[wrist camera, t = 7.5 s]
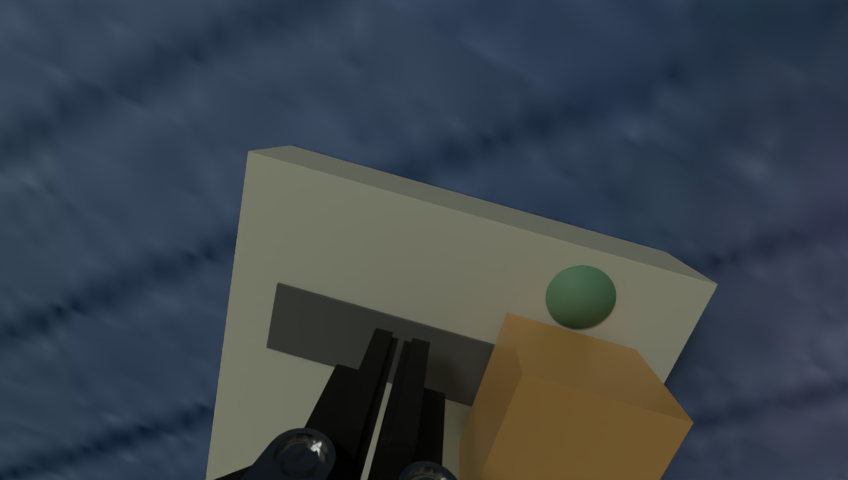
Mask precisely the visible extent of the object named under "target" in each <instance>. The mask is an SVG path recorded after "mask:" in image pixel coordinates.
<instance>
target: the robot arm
mask: <svg viewBox="0 0 848 480" xmlns="http://www.w3.org/2000/svg"><path fill="white" fill-rule="evenodd" d="M392 336H393V332H391V331H387V330H383V329H380V328H375V331H374V333H373V336H372V338H371V340H370V343H369V345H368V348H367V350H366V353H365V355H364V358H363V360H362V362H361V365H360V367H359V370H358V369H355V368H351V367H347V366H344V365H340V364H337V365H336V366H335V368H334V370H333V372H332V374H331V376H330V378H329V380H328V382H327V384H326V386H325V388H324V390H323V392H322V394H321V396H320V397H319V399H318V401H317V403H316V405H315V407H314V409H313V411H312V413H311V415H310V417H309V419H308V421H307V423H306V425H305V427H304V428H296V429H291V430H287V431H285V432H283V433H281V434H279V435H278V436H277V437H276V438H275V439H274V440H273V441H271V443H270V444H269V445H268V446H267V448H266V449H265V450H264V451H263V452H262V454H261V455H260V456H259V457H258V458H257V460H256V461H255V462H254V463H253V465H251V466H248V467H245V468H243V469H240V470H238V471H235V472H232V473H230V474H227V475H225V476H222V477H219V478H217V479H214V480H361V476H362V473H363V469H364V466H365V462H366V458H367V455H368V451H369V447H370V444H371V440H372V437H373V433H374V429H375V426H376V422H377V418H378V415H379V411H380V407H381V404H382V400H383V396H384V392H385V389H386V385H387V381H388V377H389V374H390V370H391V366H392V363H393V359H394V355H395V351H396V348H397V344H398V340H399V339H398V338H394V337H392ZM429 346H430V342H428V341H424V340H420V339H417V338H412V341H411V342H409V341H405V340H404V344H403V347H402V351H401V355H400V358H399V362H398V366H397V369H396V373H395V377H394V380H393V384H392V388H391V391H390V395H389V399H388V402H387V406H386V410H385V413H384V417H383V421H382V425H381V429H380V432H379V436H378V440H377V444H376V448H375V452H374V456H373V460H372V463H371V467H370V471H369V475H368V479H367V480H457V478H456V477H455V476H454V475H453V474H452V473H451V472H450V471H449V470H448V469H447V468H445V467H443V466H442V460H443V440H444V419H445V399H446V397H445V393H443V392H439V391H435V390H432V389H428V388H424V384H425V376H426V369H427V361H428V354H429Z"/></svg>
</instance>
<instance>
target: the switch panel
mask: <svg viewBox="0 0 848 480" xmlns="http://www.w3.org/2000/svg"><path fill="white" fill-rule="evenodd" d="M716 287H717V284H716V283H714V282H713V281H711V280H709V279H708V278H706V277H705V276H703V275H702V274H700V273H698V272H697V271H695V270H694V269H692V268H690V267H689V266H687V265H686V264H684V263H682V262H681V261H679V260H678V259H676V258H674V257H673V256H671V255H670V254H668V253H666V252H664V251H661V250H657V249H654V248H650V247H646V246H643V245H639V244H636V243H632V242H629V241H625V240H622V239H618V238H615V237H611V236H608V235H604V234H601V233H597V232H594V231H590V230H587V229H583V228H580V227H576V226H573V225H569V224H566V223H562V222H558V221H555V220H551V219H548V218H544V217H541V216H537V215H534V214H530V213H527V212H523V211H520V210H516V209H513V208H509V207H506V206H502V205H499V204H495V203H492V202H488V201H485V200H481V199H478V198H474V197H470V196H467V195H463V194H460V193H456V192H453V191H449V190H446V189H442V188H439V187H435V186H432V185H428V184H425V183H421V182H418V181H414V180H411V179H407V178H404V177H400V176H397V175H393V174H390V173H386V172H382V171H379V170H375V169H372V168H368V167H365V166H361V165H358V164H354V163H351V162H347V161H344V160H340V159H337V158H333V157H330V156H326V155H323V154H319V153H316V152H312V151H309V150H305V149H302V148H298V147H294V146H284V147H276V148H268V149H261V150H253V151H248V158H247V166H246V173H245V181H244V189H243V197H242V204H241V212H240V220H239V227H238V235H237V243H236V251H235V258H234V266H233V274H232V281H231V289H230V297H229V305H228V312H227V320H226V328H225V335H224V343H223V351H222V358H221V366H220V374H219V382H218V389H217V397H216V405H215V412H214V420H213V428H212V436H211V443H210V451H209V459H208V466H207V474H206V480H214V479H217V478H219V477H222V476H225V475H227V474H230V473H232V472H235V471H238V470H240V469H243V468H245V467H248V466H251V465H253V463H254V462H255V461H256V460H257V458H258V457H259V456H260V455H261V454H262V452H263V451H264V450H265V449H266V448H267V446H268V445H269V444H270V443H271V441H273V440H274V439H275V438H276V437H277V436H278V435H279V434H281V433H283V432H285V431H287V430H291V429H296V428H304V427H305V425H306V423H307V421H308V419H309V417H310V415H311V413H312V411H313V409H314V407H315V405H316V403H317V401H318V399H319V397H320V396H321V394H322V392H323V390H324V388H325V386H326V384H327V382H328V380H329V378H330V376H331V374H332V372H333V370H334V368H335V366H336V365H337V364H340V365H344V366H347V367H351V368H355V369H358V370H359V367H360V365H361V362H362V360H363V358H364V355H365V353H366V350H367V348H368V345H369V343H370V340H371V338H372V336H373V333H374V331H375V328H380V329H383V330H387V331H391V332H393V336H392V337H394V338H398V339H399V340H398V344H397V348H396V351H395V355H394V359H393V363H392V366H391V370H390V374H389V377H388V381H387V385H386V389H385V392H384V396H383V400H382V404H381V407H380V411H379V415H378V418H377V422H376V426H375V429H374V433H373V437H372V440H371V444H370V447H369V451H368V455H367V458H366V462H365V466H364V469H363V473H362V476H361V480H367V479H368V475H369V471H370V467H371V463H372V460H373V456H374V452H375V448H376V444H377V440H378V436H379V432H380V429H381V425H382V421H383V417H384V413H385V410H386V406H387V402H388V399H389V395H390V391H391V388H392V384H393V380H394V377H395V373H396V369H397V366H398V362H399V358H400V355H401V351H402V347H403V344H404V340H405V341H409V342H411V341H412V338H417V339H420V340H424V341H428V342H430V346H429V354H428V361H427V369H426V376H425V384H424V388H428V389H432V390H435V391H439V392H443V393H445V397H446V399H445V419H444V440H443V460H442V466H443V467H445V468H447V469H448V470H449V471H450V472H451V473H452V474H453V475H454V476H455V477H456V478H457V480H459V440H460V438H461V435H462V432H463V430H464V427H465V424H466V422H467V419H468V416H469V413H470V411H471V408H472V405H473V403H474V400H475V397H476V395H477V392H478V389H479V387H480V384H481V381H482V379H483V376H484V373H485V371H486V368H487V365H488V363H489V360H490V357H491V354H492V352H493V349H494V346H495V344H496V341H497V338H498V336H499V333H500V330H501V328H502V325H503V322H504V320H505V317H506V314H507V313H511V314H514V315H518V316H521V317H525V318H528V319H532V320H535V321H538V322H542V323H545V324H549V325H552V326H556V327H559V328H563V329H566V330H570V331H573V332H577V333H580V334H584V335H587V336H591V337H594V338H598V339H601V340H605V341H608V342H612V343H615V344H619V345H622V346H626V347H629V348H633V349H636V350H637V351H638V352H639V353H640V355H641V356H642V357H643V358H644V360H645V361H646V362H647V364H648V365H649V366H650V367H651V369H652V370H653V371H654V373H655V374H656V375H657V376H658V378H659V379H660V380H661V382H662V383H663V384H664V383H665V381H666V379H667V377H668V375H669V373H670V372H671V370H672V368H673V366H674V364H675V362H676V360H677V359H678V357H679V355H680V353H681V351H682V349H683V348H684V346H685V344H686V342H687V340H688V338H689V337H690V335H691V333H692V331H693V329H694V327H695V325H696V324H697V322H698V320H699V318H700V316H701V314H702V313H703V311H704V309H705V307H706V305H707V303H708V302H709V300H710V298H711V296H712V294H713V292H714V290H715V289H716Z"/></svg>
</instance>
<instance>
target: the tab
mask: <svg viewBox="0 0 848 480" xmlns="http://www.w3.org/2000/svg"><path fill="white" fill-rule="evenodd" d="M692 424H693V421H692V420H691V419H690V418H689V416H688V415H687V414H686V412H685V411H684V410H683V409H682V407H681V406H680V405H679V403H678V402H677V401H676V400H675V398H674V397H673V396H672V394H671V393H670V392H669V391H668V389H667V388H666V387H665V385H664V384H663V383H662V382H661V380H660V379H659V378H658V376H657V375H656V374H655V373H654V371H653V370H652V369H651V367H650V366H649V365H648V364H647V362H646V361H645V360H644V358H643V357H642V356H641V355H640V353H639V352H638V351H637V350H636V349H633V348H629V347H626V346H622V345H619V344H615V343H612V342H608V341H605V340H601V339H598V338H594V337H591V336H587V335H584V334H580V333H577V332H573V331H570V330H566V329H563V328H559V327H556V326H552V325H549V324H545V323H542V322H538V321H535V320H532V319H528V318H525V317H521V316H518V315H514V314H511V313H507V314H506V317H505V320H504V322H503V325H502V328H501V330H500V333H499V336H498V338H497V341H496V344H495V346H494V349H493V352H492V354H491V357H490V360H489V363H488V365H487V368H486V371H485V373H484V376H483V379H482V381H481V384H480V387H479V389H478V392H477V395H476V397H475V400H474V403H473V405H472V408H471V411H470V413H469V416H468V419H467V422H466V424H465V427H464V430H463V432H462V435H461V438H460V440H459V480H660V478H661V477H662V475H663V473H664V472H665V470H666V468H667V467H668V465H669V463H670V462H671V460H672V458H673V457H674V455H675V453H676V451H677V450H678V448H679V446H680V445H681V443H682V441H683V440H684V438H685V436H686V435H687V433H688V431H689V429H690V428H691V426H692Z"/></svg>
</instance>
